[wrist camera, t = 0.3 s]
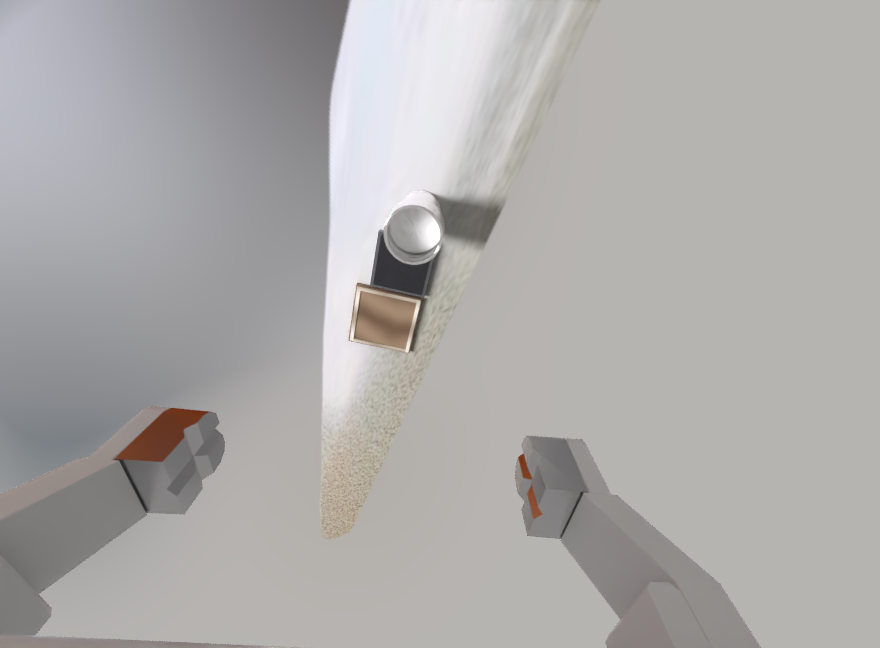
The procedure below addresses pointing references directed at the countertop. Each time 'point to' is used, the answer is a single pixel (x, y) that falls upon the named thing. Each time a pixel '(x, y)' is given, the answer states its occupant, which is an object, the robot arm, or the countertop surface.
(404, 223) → the beer glass
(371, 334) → the board
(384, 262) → the ink pad
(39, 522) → the robot arm
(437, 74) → the countertop surface
